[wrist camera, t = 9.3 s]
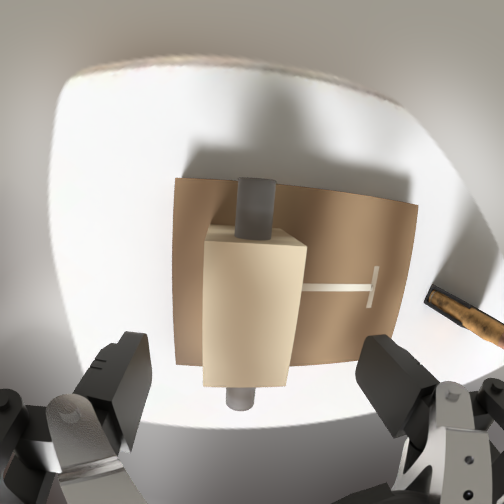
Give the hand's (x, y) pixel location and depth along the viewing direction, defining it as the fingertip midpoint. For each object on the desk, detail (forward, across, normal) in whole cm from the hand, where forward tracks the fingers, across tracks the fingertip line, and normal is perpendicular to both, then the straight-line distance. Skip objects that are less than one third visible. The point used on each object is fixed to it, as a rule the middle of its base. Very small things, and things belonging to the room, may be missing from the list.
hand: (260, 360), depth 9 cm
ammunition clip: (+10, -22, +3) cm, 24 cm away
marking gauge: (+7, 0, 0) cm, 7 cm away
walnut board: (+9, -4, 0) cm, 10 cm away
